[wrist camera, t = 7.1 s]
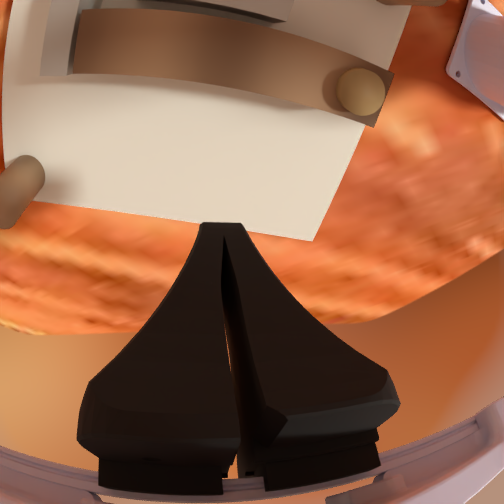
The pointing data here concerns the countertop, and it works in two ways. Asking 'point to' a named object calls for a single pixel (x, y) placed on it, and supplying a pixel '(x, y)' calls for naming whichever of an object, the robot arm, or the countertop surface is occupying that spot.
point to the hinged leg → (230, 58)
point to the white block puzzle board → (180, 121)
